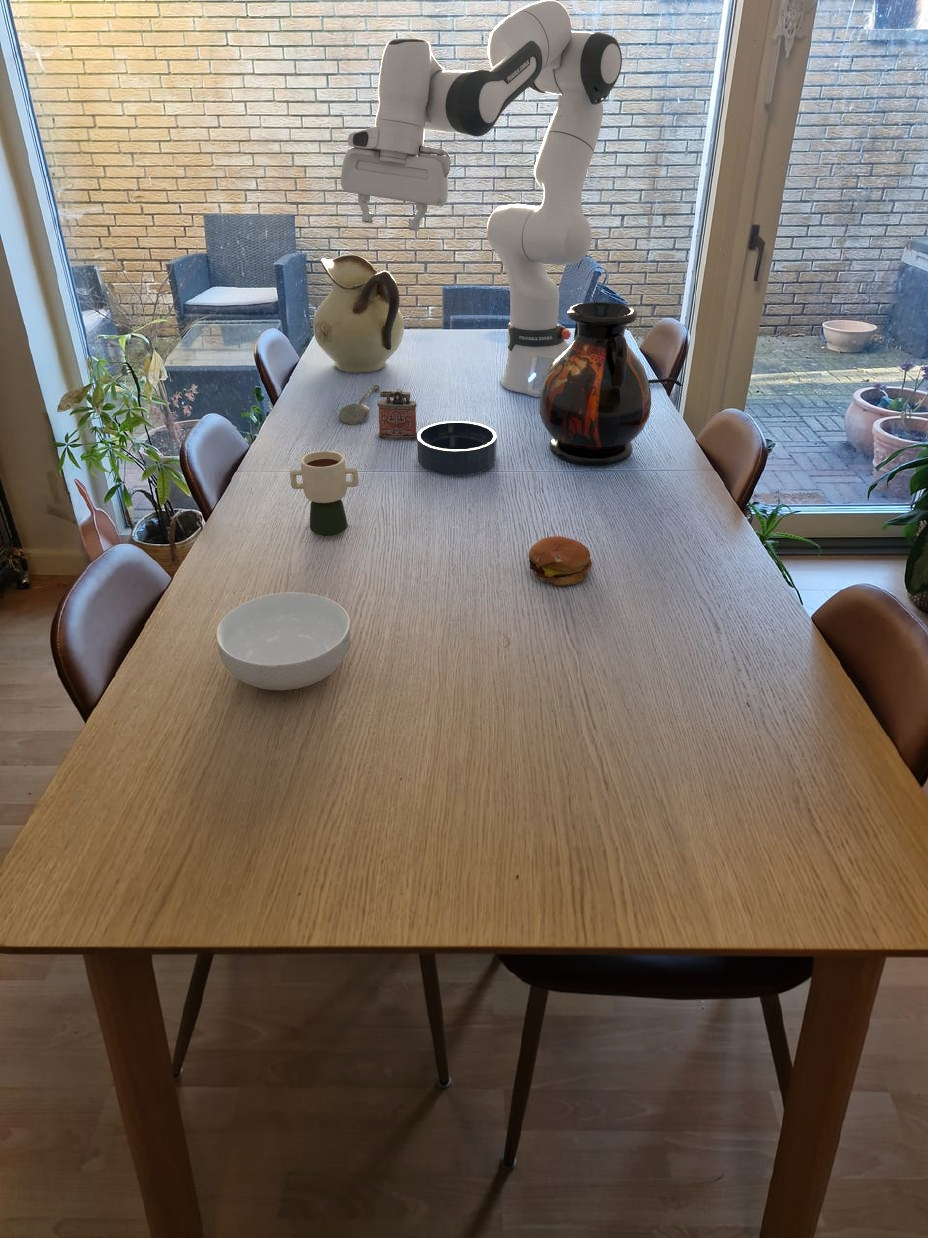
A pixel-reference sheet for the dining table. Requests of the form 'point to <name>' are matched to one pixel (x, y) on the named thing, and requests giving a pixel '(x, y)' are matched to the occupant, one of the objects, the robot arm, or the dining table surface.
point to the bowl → (456, 448)
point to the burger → (560, 560)
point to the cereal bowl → (284, 640)
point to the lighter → (397, 416)
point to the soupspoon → (356, 409)
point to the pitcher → (358, 315)
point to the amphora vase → (596, 389)
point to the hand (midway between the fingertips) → (390, 226)
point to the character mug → (325, 490)
